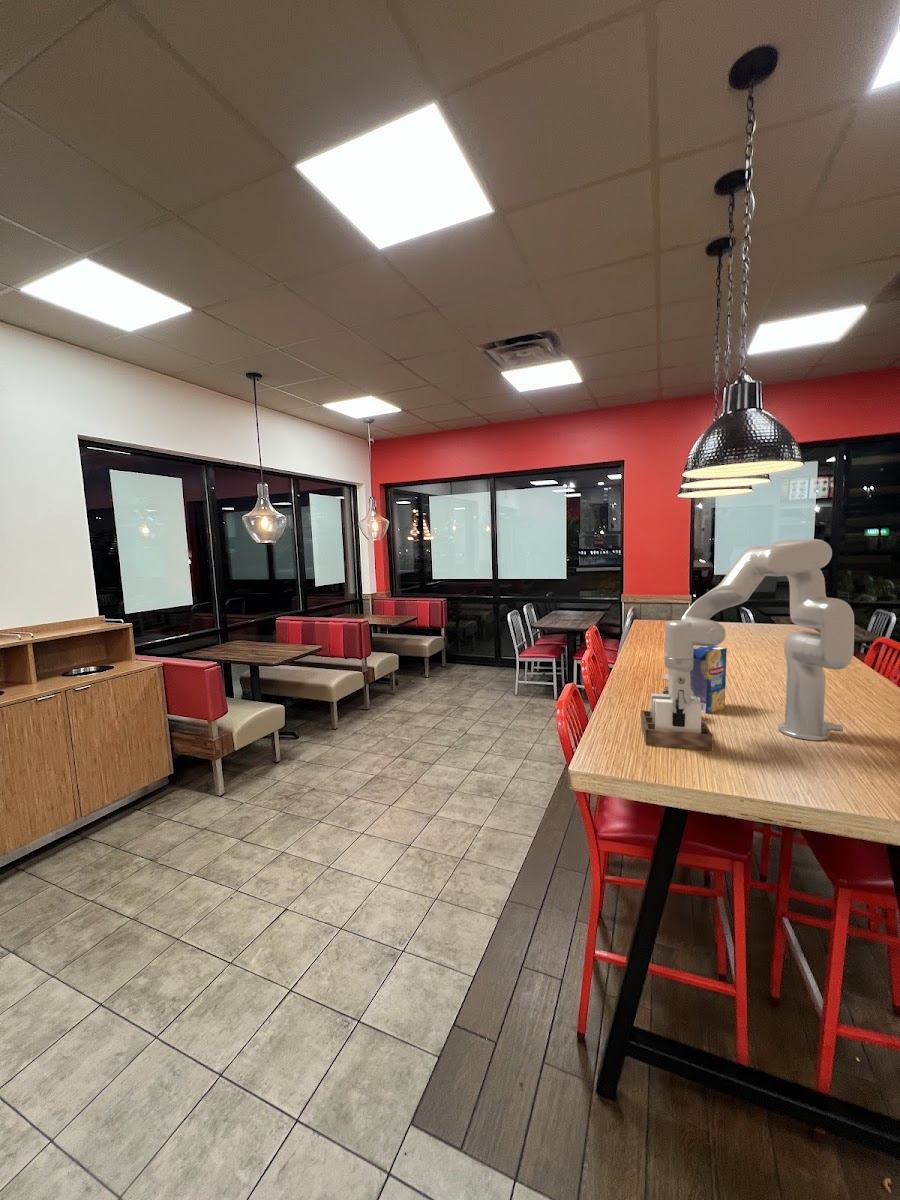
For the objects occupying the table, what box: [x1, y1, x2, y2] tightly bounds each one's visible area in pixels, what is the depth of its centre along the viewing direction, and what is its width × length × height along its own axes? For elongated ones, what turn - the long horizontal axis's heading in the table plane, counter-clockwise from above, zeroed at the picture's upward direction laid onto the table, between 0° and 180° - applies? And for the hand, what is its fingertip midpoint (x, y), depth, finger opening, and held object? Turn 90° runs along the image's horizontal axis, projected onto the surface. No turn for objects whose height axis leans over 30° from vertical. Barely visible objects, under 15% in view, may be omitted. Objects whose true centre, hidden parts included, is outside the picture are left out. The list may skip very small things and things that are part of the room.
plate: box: [655, 699, 702, 733], centre depth 140 cm, size 12×3×10 cm, turn 72°
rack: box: [640, 710, 714, 752], centre depth 146 cm, size 18×18×4 cm
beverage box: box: [690, 645, 728, 714], centre depth 170 cm, size 7×11×22 cm, turn 120°
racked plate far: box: [650, 693, 694, 717], centre depth 151 cm, size 12×3×10 cm, turn 72°
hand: (677, 723), depth 140 cm, fingers open, 3 cm apart
